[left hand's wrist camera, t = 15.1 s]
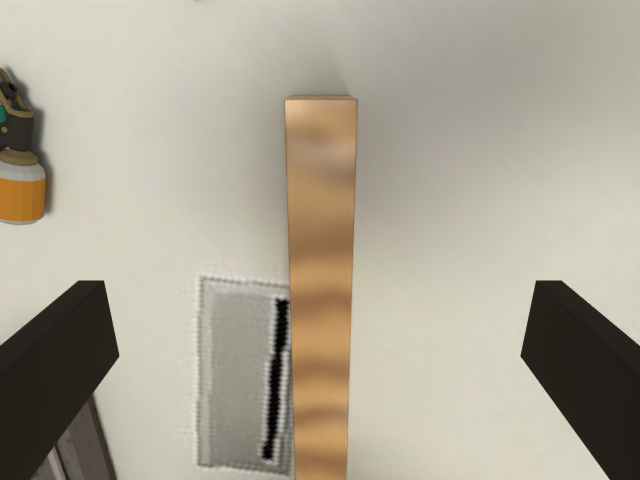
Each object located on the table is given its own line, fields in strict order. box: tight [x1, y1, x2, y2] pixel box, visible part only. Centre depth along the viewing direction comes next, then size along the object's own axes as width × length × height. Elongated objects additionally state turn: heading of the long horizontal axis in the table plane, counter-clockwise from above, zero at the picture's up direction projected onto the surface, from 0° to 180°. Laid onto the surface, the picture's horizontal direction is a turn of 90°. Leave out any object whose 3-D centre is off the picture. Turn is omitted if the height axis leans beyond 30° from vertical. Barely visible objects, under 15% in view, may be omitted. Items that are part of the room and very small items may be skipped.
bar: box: [284, 96, 358, 480], centre depth 43 cm, size 48×5×7 cm, turn 0°
